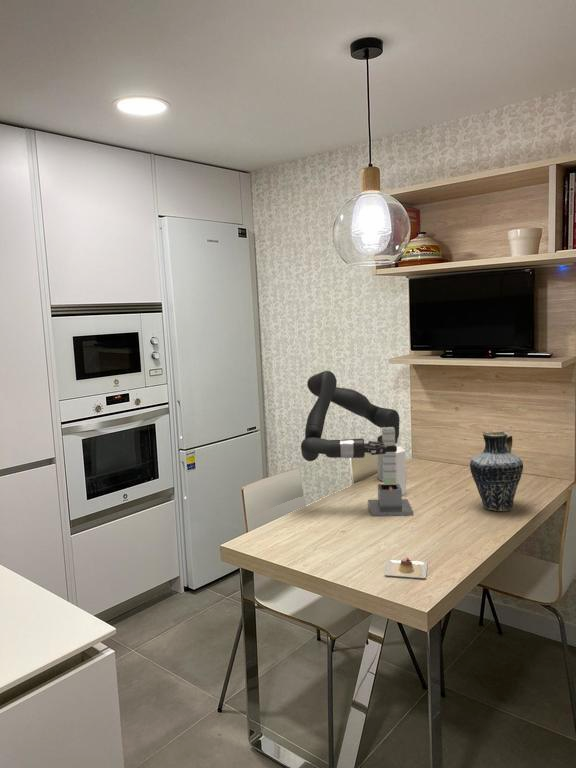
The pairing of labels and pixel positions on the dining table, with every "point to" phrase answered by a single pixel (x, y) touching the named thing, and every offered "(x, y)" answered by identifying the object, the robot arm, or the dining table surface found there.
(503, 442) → the jug
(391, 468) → the column
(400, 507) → the stand
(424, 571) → the dessert
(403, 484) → the milk
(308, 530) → the dining table surface
